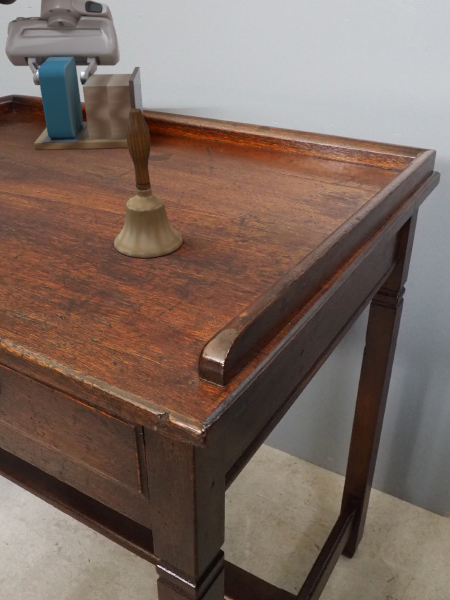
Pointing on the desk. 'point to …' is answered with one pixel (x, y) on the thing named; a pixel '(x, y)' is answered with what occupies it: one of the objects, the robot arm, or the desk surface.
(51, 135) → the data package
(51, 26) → the robot arm
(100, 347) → the desk surface
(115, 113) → the book rack
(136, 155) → the hand bell
